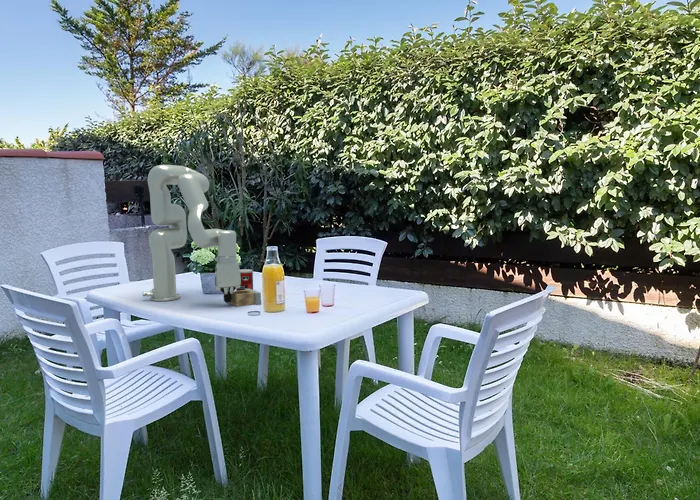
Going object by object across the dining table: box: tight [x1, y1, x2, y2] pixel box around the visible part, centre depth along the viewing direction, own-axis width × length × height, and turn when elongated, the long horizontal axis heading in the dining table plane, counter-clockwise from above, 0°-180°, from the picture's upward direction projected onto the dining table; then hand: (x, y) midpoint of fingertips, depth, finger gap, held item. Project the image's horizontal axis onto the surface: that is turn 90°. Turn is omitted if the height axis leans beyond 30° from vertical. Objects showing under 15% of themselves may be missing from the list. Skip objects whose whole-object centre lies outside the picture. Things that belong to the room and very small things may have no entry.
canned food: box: [235, 268, 254, 291], centre depth 232 cm, size 8×8×11 cm
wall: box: [245, 289, 262, 306], centre depth 214 cm, size 2×12×5 cm, turn 36°
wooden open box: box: [230, 290, 256, 307], centre depth 211 cm, size 8×8×5 cm
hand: (227, 302), depth 207 cm, fingers closed
